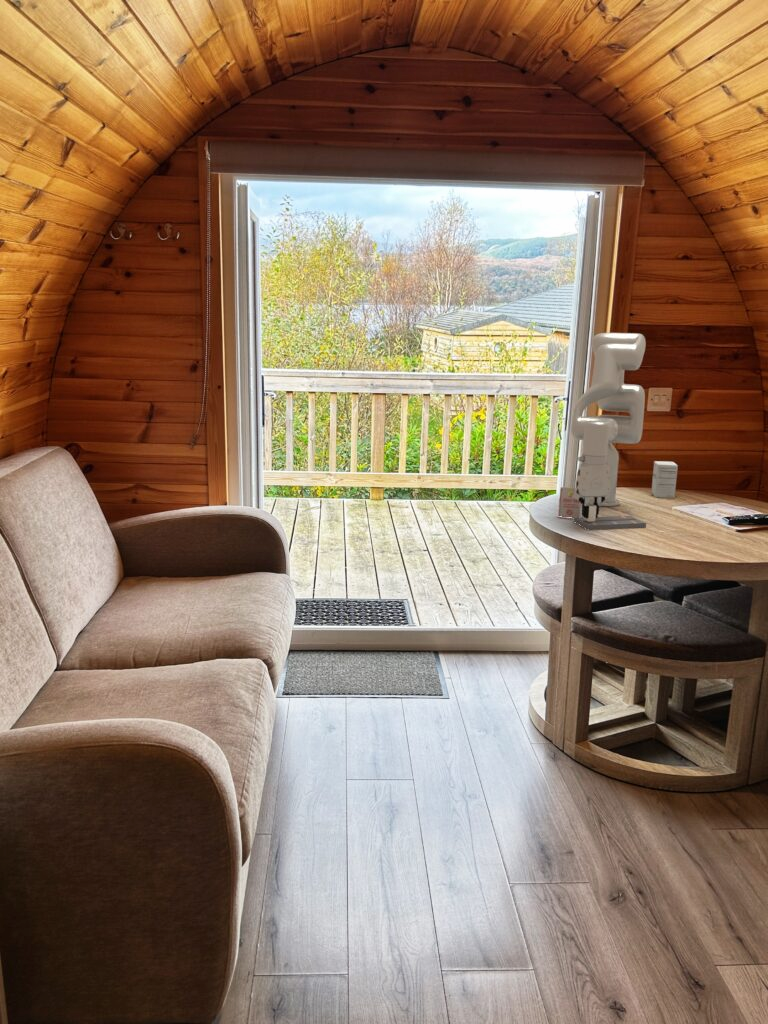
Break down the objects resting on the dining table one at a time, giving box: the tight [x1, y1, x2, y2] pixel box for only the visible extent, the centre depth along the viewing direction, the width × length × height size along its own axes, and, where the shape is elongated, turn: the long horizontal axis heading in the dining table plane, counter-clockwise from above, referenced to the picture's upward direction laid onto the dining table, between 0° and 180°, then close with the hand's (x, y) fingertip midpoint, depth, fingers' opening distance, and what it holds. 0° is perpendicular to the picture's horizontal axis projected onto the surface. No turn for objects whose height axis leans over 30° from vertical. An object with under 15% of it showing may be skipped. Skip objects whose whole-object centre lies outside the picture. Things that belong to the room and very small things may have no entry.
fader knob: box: [584, 504, 597, 522], centre depth 255 cm, size 3×2×5 cm
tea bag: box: [557, 486, 582, 518], centre depth 266 cm, size 4×7×10 cm, turn 73°
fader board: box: [573, 515, 647, 530], centre depth 258 cm, size 10×20×2 cm, turn 102°
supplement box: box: [650, 460, 679, 499], centre depth 301 cm, size 7×7×13 cm
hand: (589, 516), depth 256 cm, fingers closed on fader knob, 2 cm apart
